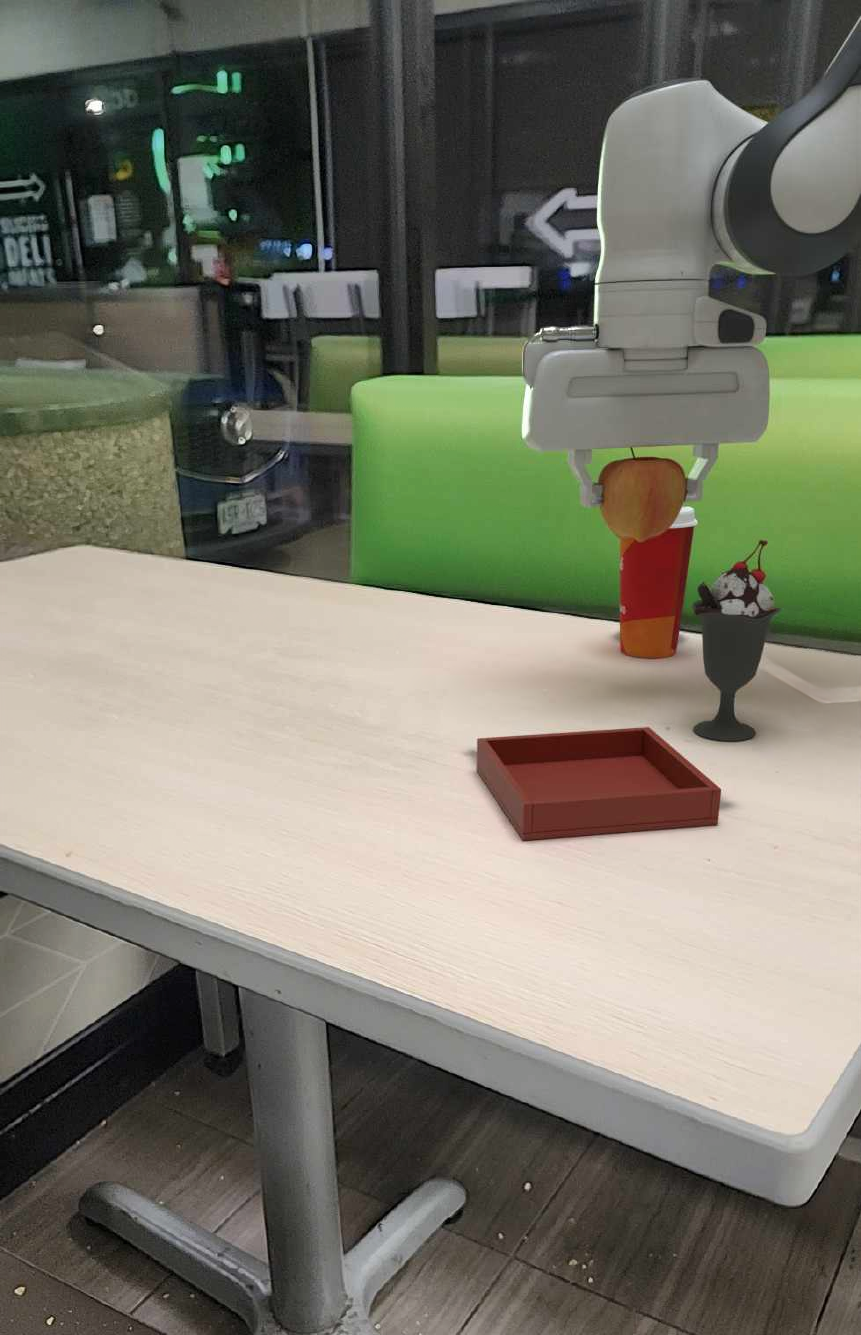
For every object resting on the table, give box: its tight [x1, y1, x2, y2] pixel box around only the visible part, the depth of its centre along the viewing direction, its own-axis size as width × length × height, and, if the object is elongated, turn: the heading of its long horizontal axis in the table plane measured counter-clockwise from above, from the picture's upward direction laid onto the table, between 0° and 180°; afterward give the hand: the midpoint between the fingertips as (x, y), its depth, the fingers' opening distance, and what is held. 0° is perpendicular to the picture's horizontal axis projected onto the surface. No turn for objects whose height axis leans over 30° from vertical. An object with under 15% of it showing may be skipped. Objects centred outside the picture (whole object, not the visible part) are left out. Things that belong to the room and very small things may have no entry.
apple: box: [597, 447, 687, 542], centre depth 98 cm, size 7×7×8 cm
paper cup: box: [619, 505, 699, 659], centre depth 115 cm, size 8×8×14 cm
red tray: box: [476, 726, 722, 841], centre depth 80 cm, size 13×13×2 cm
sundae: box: [692, 539, 782, 742], centre depth 91 cm, size 7×7×15 cm
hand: (641, 503), depth 98 cm, fingers closed on apple, 7 cm apart
